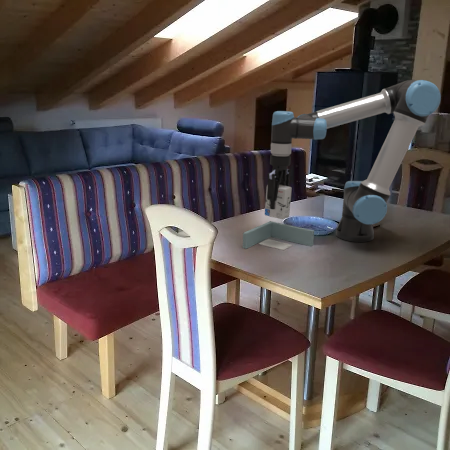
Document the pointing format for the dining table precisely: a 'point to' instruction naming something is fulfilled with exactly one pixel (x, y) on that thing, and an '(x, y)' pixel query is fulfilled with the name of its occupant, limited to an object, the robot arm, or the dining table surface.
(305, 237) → the teal angle bracket
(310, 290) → the dining table surface
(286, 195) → the ink box
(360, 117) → the robot arm
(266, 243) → the pad
